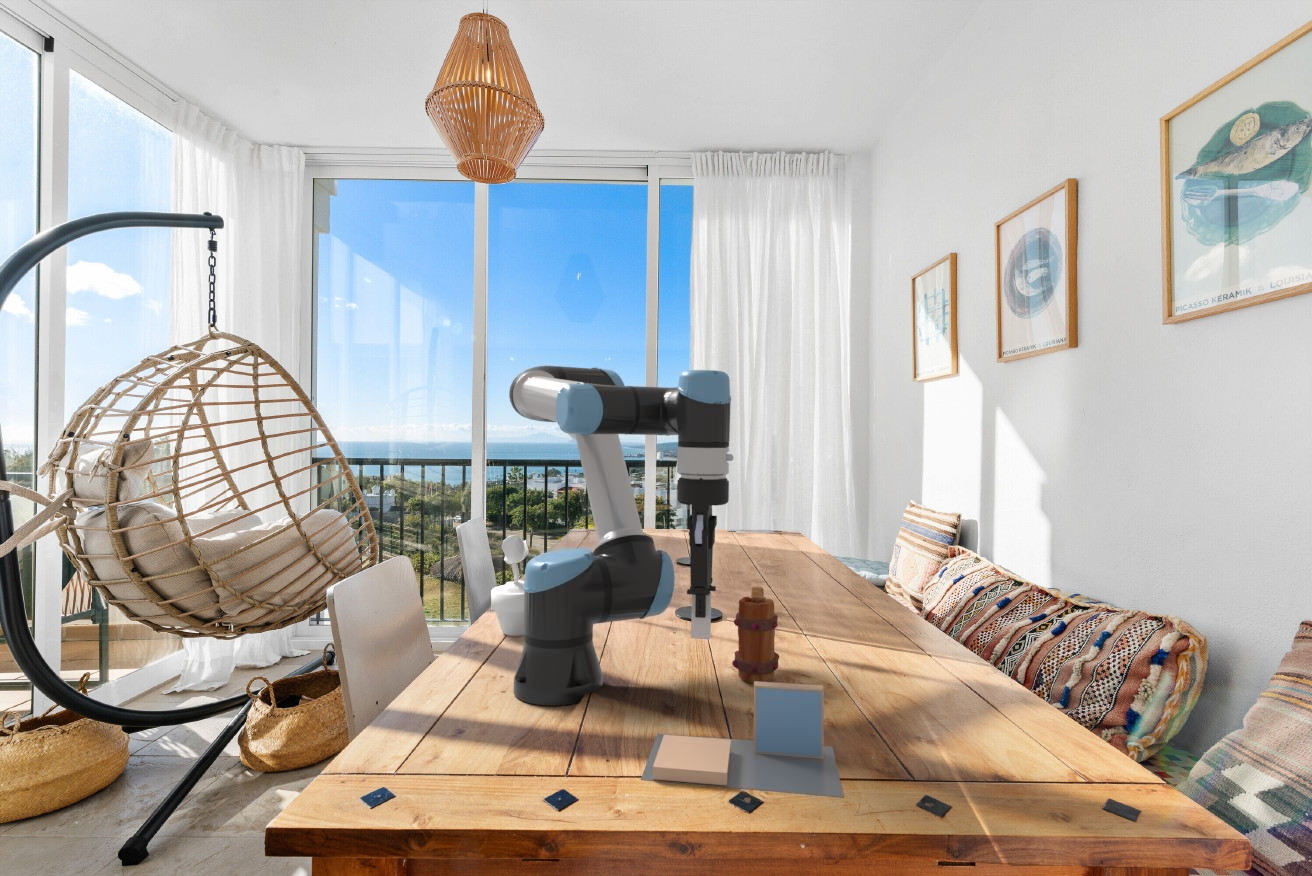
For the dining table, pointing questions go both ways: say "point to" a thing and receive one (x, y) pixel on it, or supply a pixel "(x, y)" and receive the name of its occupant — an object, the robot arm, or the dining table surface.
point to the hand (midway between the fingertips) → (700, 637)
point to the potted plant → (511, 590)
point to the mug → (756, 638)
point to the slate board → (770, 771)
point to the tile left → (693, 760)
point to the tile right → (789, 719)
